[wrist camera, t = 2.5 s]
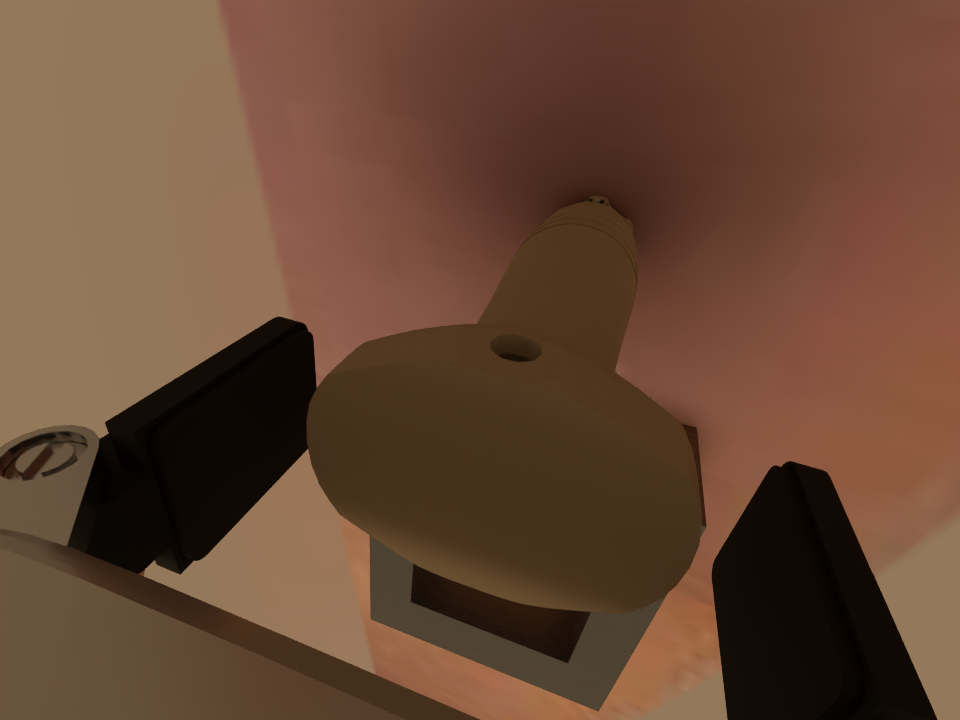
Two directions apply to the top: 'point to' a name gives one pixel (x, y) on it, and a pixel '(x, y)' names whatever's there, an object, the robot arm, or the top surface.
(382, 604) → the socket block
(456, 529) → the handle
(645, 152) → the top surface
